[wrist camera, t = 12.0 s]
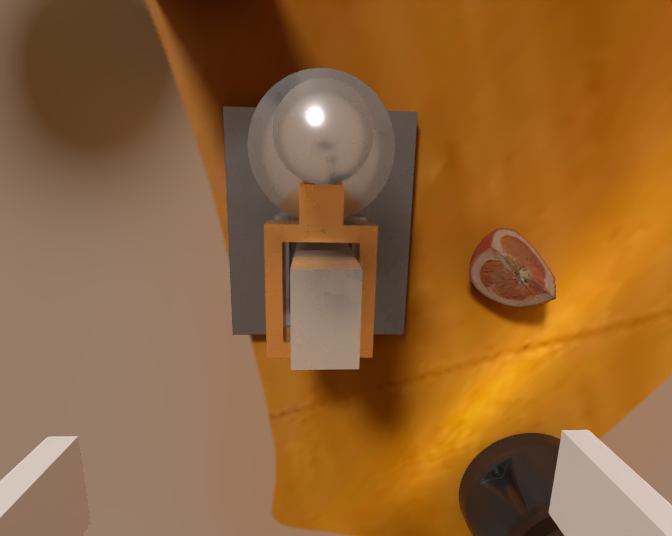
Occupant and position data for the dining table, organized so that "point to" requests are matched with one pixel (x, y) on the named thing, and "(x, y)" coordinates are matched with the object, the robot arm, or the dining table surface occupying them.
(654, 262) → the dining table surface
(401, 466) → the dining table surface
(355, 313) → the rectangular block
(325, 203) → the grey press stand
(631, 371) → the dining table surface
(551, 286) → the fruit slice
